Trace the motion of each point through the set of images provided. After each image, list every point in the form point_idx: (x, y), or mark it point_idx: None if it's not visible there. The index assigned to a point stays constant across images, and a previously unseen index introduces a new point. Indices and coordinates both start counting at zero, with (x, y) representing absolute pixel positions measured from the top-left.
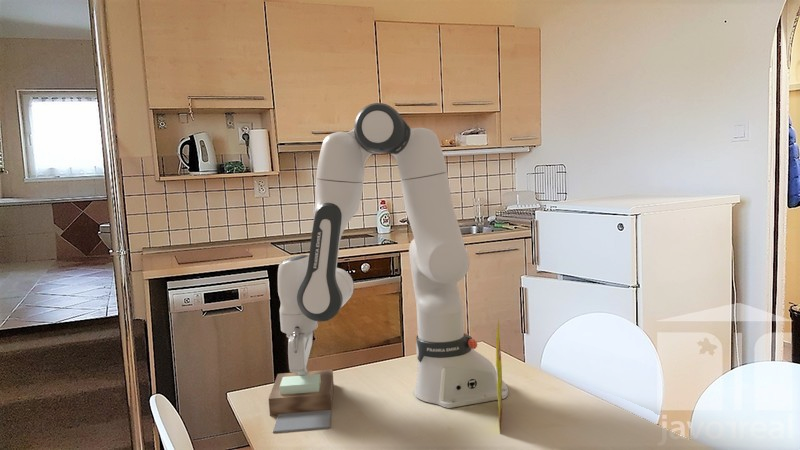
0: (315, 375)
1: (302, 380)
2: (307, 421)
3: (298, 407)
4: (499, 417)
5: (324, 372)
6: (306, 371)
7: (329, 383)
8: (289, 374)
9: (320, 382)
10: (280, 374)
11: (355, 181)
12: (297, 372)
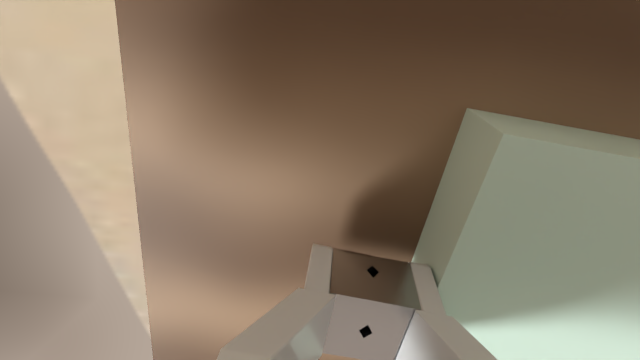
0: (513, 195)
1: (580, 327)
2: None
3: None
4: None
5: (190, 34)
6: (348, 273)
7: (572, 14)
8: (179, 312)
9: (515, 119)
10: (168, 354)
11: None
12: (147, 263)
